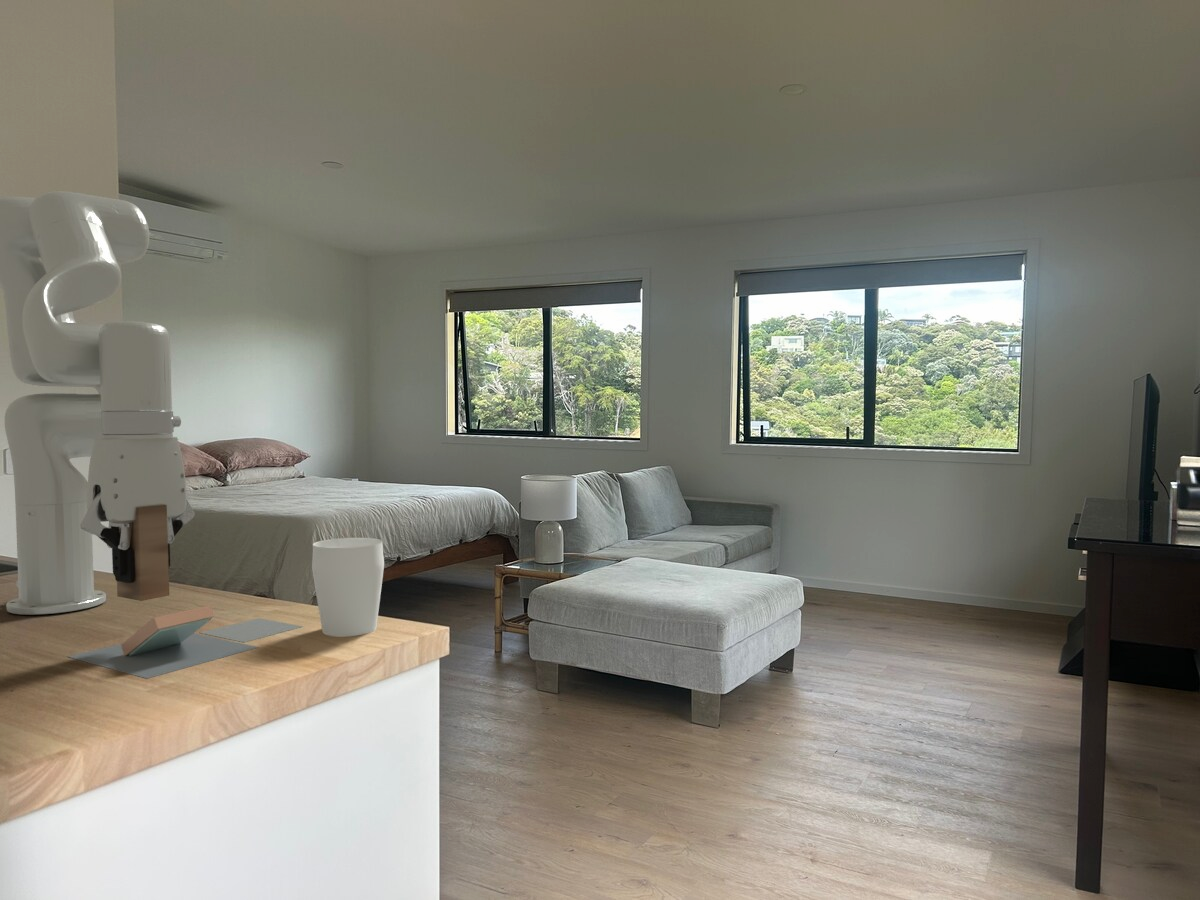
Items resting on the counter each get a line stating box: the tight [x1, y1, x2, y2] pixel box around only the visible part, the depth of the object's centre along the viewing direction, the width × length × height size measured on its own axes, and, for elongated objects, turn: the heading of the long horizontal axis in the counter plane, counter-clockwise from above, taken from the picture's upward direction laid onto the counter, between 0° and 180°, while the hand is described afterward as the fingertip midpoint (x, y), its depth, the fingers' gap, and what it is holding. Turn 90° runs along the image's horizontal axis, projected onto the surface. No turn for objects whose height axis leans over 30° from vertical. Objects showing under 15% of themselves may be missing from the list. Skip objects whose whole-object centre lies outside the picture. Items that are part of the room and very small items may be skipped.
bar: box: [116, 505, 170, 602], centre depth 105 cm, size 5×4×11 cm
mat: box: [67, 632, 260, 680], centre depth 103 cm, size 16×14×1 cm
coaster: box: [199, 617, 304, 644], centre depth 113 cm, size 9×9×1 cm
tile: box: [121, 605, 215, 656], centre depth 103 cm, size 2×7×8 cm
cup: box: [311, 537, 385, 638], centre depth 113 cm, size 9×9×12 cm
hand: (142, 577), depth 105 cm, fingers closed on bar, 3 cm apart
